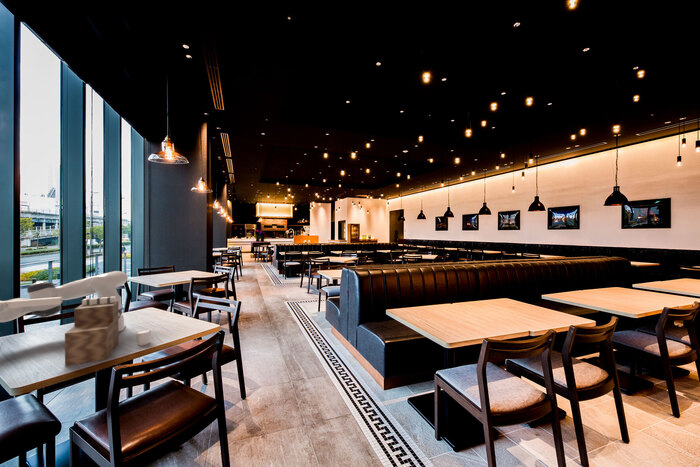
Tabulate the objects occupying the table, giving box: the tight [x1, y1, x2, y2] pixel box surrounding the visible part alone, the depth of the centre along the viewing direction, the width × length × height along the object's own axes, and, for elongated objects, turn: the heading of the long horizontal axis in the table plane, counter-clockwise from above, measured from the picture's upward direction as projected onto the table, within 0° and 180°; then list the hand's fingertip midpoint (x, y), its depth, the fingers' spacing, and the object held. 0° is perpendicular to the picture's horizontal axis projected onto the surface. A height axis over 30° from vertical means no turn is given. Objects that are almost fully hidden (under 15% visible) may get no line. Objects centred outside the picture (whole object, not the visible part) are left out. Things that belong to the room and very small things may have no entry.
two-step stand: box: [64, 301, 120, 367], centre depth 153 cm, size 16×24×25 cm, turn 28°
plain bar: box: [0, 297, 63, 309], centre depth 138 cm, size 22×3×3 cm, turn 118°
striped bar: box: [81, 296, 116, 305], centre depth 161 cm, size 14×3×3 cm, turn 118°
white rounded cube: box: [135, 329, 151, 346], centre depth 167 cm, size 7×7×7 cm
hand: (9, 303), depth 134 cm, fingers closed on plain bar, 3 cm apart
